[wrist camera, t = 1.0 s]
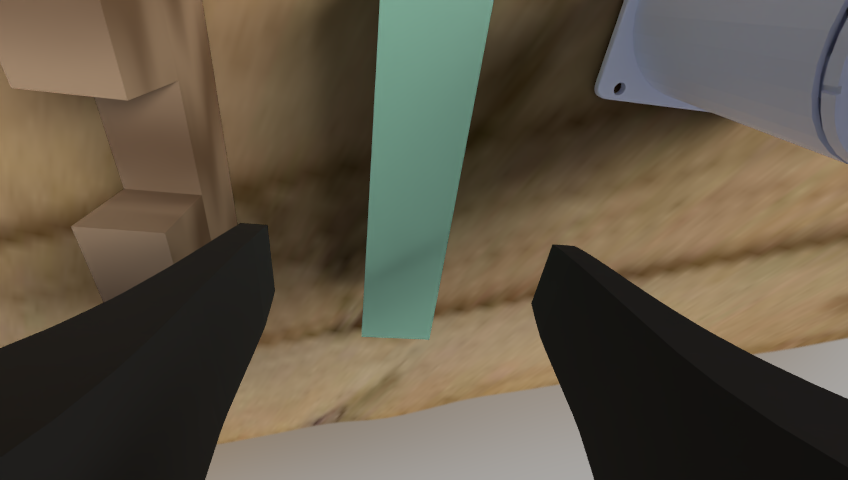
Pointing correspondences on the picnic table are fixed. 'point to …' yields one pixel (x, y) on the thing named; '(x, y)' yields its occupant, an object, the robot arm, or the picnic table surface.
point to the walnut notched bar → (134, 122)
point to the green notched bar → (417, 154)
